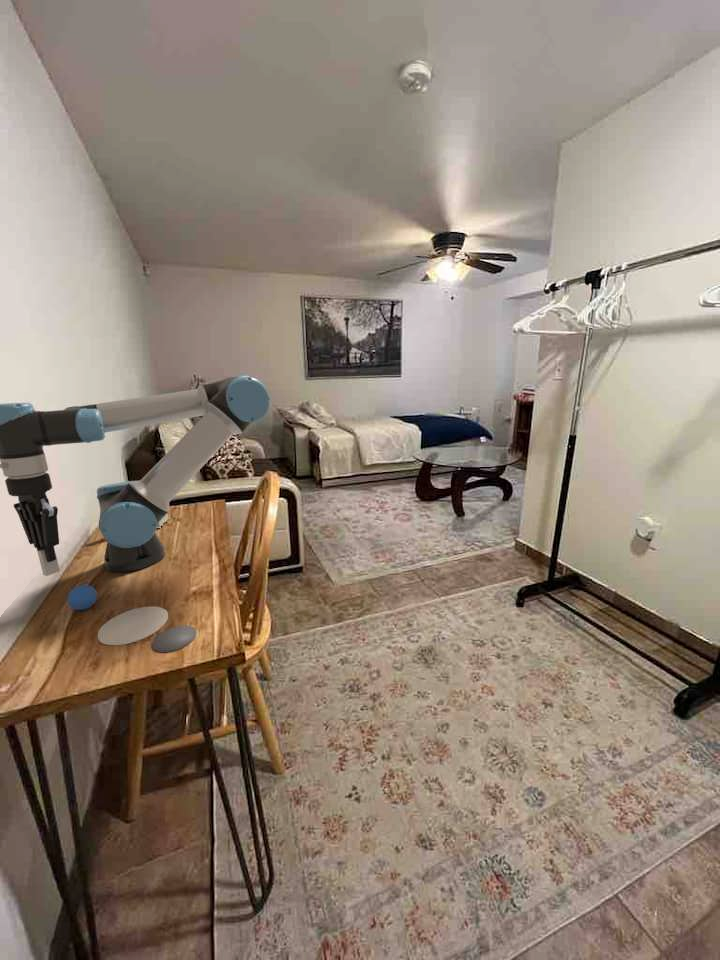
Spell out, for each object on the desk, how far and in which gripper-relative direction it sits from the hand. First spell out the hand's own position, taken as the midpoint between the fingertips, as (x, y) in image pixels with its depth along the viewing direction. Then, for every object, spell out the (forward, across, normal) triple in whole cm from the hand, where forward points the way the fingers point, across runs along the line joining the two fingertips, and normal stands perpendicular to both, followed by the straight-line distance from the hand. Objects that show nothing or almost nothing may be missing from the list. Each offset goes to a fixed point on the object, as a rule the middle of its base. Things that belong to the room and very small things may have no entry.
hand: (51, 572), depth 91 cm
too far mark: (+7, +39, 0) cm, 39 cm away
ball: (+4, +10, 0) cm, 11 cm away
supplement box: (+7, -22, +43) cm, 49 cm away
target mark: (+7, +27, 0) cm, 28 cm away
